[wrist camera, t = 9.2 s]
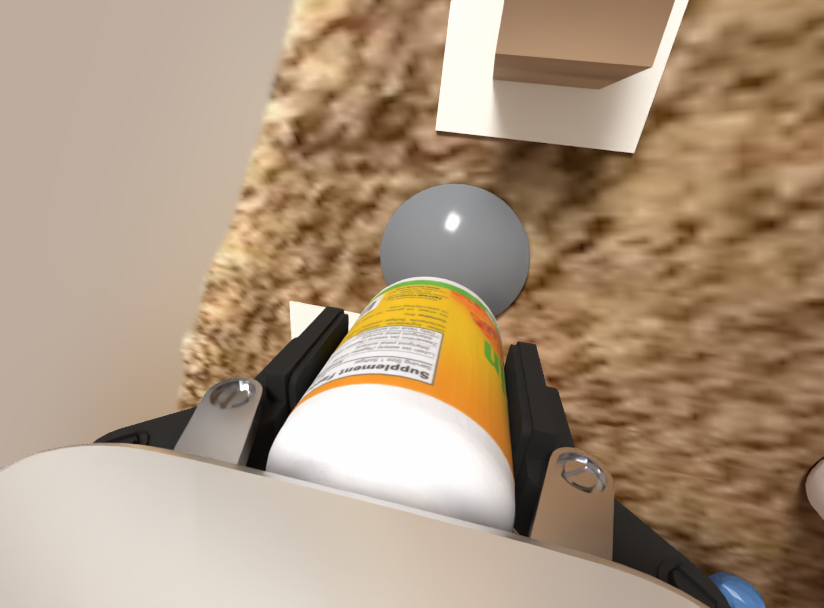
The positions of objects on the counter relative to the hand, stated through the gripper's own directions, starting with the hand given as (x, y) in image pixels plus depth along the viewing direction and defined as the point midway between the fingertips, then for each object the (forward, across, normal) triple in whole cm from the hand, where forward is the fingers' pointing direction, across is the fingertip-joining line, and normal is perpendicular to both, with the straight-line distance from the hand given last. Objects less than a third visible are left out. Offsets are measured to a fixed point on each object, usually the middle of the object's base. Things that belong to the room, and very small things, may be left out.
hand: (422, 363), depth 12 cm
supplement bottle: (+2, 0, 0) cm, 2 cm away
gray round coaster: (+11, 0, 0) cm, 11 cm away
